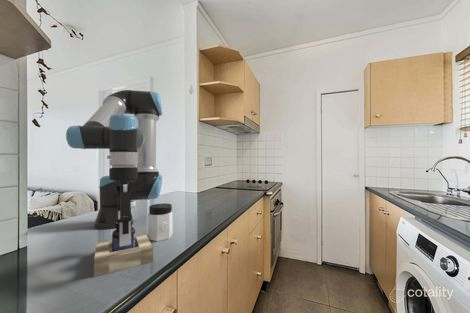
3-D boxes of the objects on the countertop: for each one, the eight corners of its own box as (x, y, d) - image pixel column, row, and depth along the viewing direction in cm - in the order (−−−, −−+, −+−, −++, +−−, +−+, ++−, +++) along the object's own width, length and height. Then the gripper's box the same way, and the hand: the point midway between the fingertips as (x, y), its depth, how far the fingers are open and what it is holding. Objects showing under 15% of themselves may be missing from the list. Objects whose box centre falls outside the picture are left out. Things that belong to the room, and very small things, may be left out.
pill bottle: (138, 258, 61) (138, 221, 61) (116, 265, 57) (116, 225, 57) (130, 252, 65) (130, 217, 65) (109, 258, 61) (109, 221, 61)
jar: (150, 243, 72) (150, 209, 72) (146, 236, 79) (146, 205, 79) (175, 237, 77) (175, 205, 77) (169, 231, 84) (169, 202, 84)
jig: (97, 252, 65) (97, 239, 65) (144, 242, 73) (144, 231, 73) (93, 276, 51) (93, 260, 51) (152, 261, 59) (152, 247, 59)
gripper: (109, 166, 70) (109, 227, 70) (108, 168, 49) (108, 257, 48) (133, 165, 74) (133, 224, 74) (142, 167, 53) (143, 249, 52)
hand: (124, 237), depth 61 cm, fingers open, 13 cm apart
